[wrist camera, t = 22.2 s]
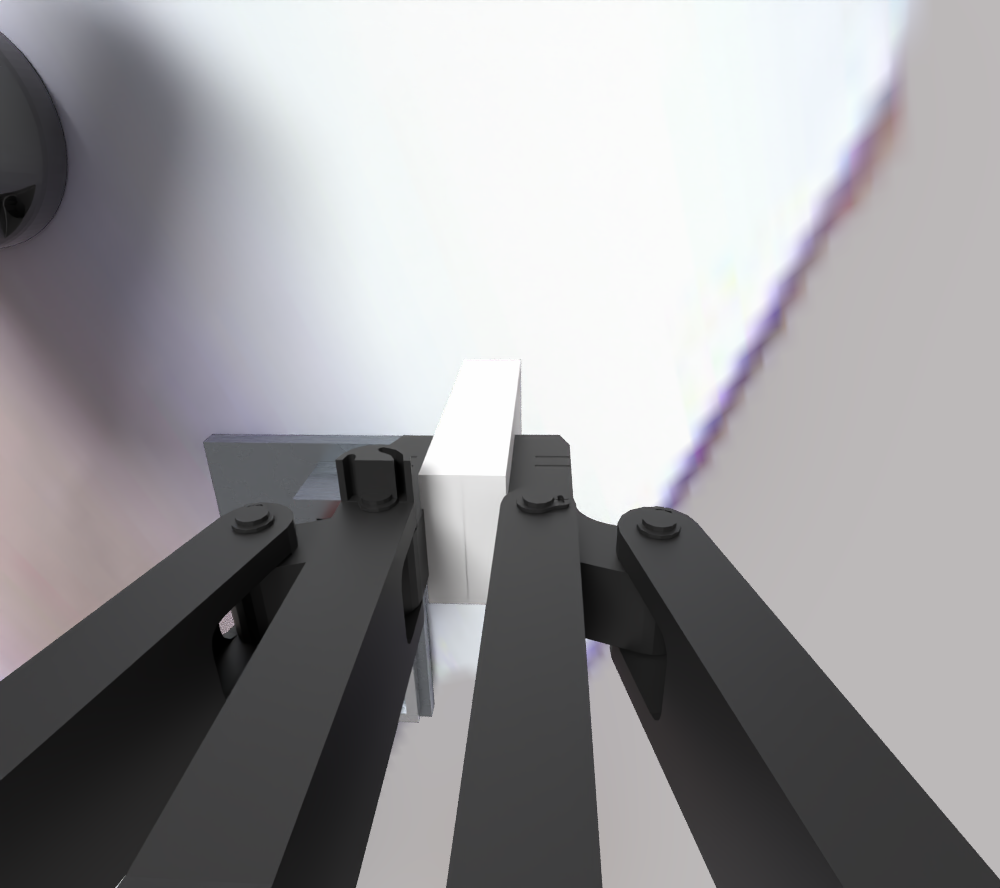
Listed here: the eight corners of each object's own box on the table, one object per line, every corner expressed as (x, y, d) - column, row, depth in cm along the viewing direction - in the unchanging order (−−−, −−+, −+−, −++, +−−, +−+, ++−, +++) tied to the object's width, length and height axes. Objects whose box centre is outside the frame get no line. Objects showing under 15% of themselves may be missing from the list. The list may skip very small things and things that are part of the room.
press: (271, 697, 63) (238, 764, 57) (212, 434, 52) (161, 478, 45) (434, 704, 62) (420, 772, 55) (411, 436, 51) (390, 481, 44)
